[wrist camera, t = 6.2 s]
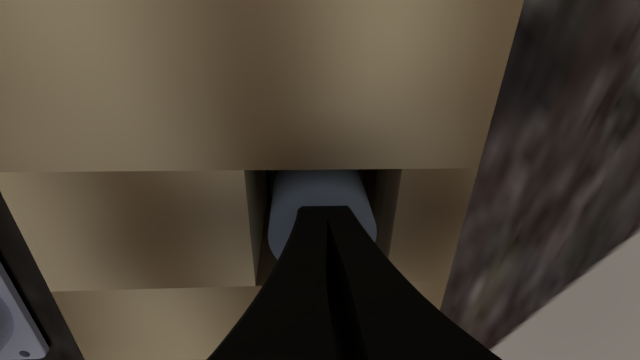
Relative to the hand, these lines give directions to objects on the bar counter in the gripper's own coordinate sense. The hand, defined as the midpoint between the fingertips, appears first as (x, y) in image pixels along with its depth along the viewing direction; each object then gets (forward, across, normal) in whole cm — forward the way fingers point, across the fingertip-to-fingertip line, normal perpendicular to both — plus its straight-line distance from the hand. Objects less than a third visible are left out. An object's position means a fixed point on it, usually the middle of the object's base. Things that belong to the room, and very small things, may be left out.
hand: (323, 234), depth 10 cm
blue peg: (+4, 0, 0) cm, 4 cm away
